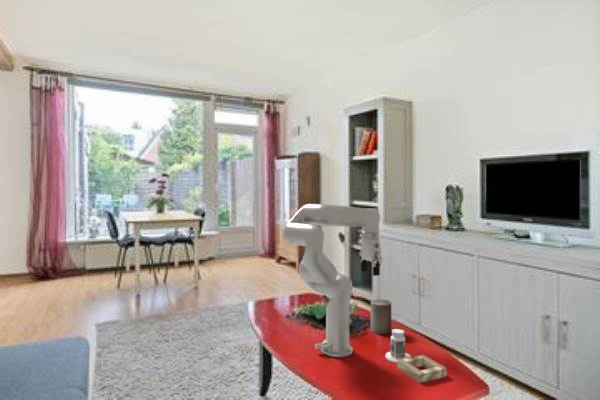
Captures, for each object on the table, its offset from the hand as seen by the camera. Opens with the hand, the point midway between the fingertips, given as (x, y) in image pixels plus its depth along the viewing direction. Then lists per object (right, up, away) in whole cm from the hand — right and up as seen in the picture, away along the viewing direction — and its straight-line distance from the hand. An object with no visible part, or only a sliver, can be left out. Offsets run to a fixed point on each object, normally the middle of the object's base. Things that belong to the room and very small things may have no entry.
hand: (370, 273), depth 173 cm
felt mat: (+7, -29, -23) cm, 38 cm away
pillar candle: (+6, -29, +6) cm, 30 cm away
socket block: (+12, -29, -35) cm, 47 cm away
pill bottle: (+7, -29, -23) cm, 37 cm away
